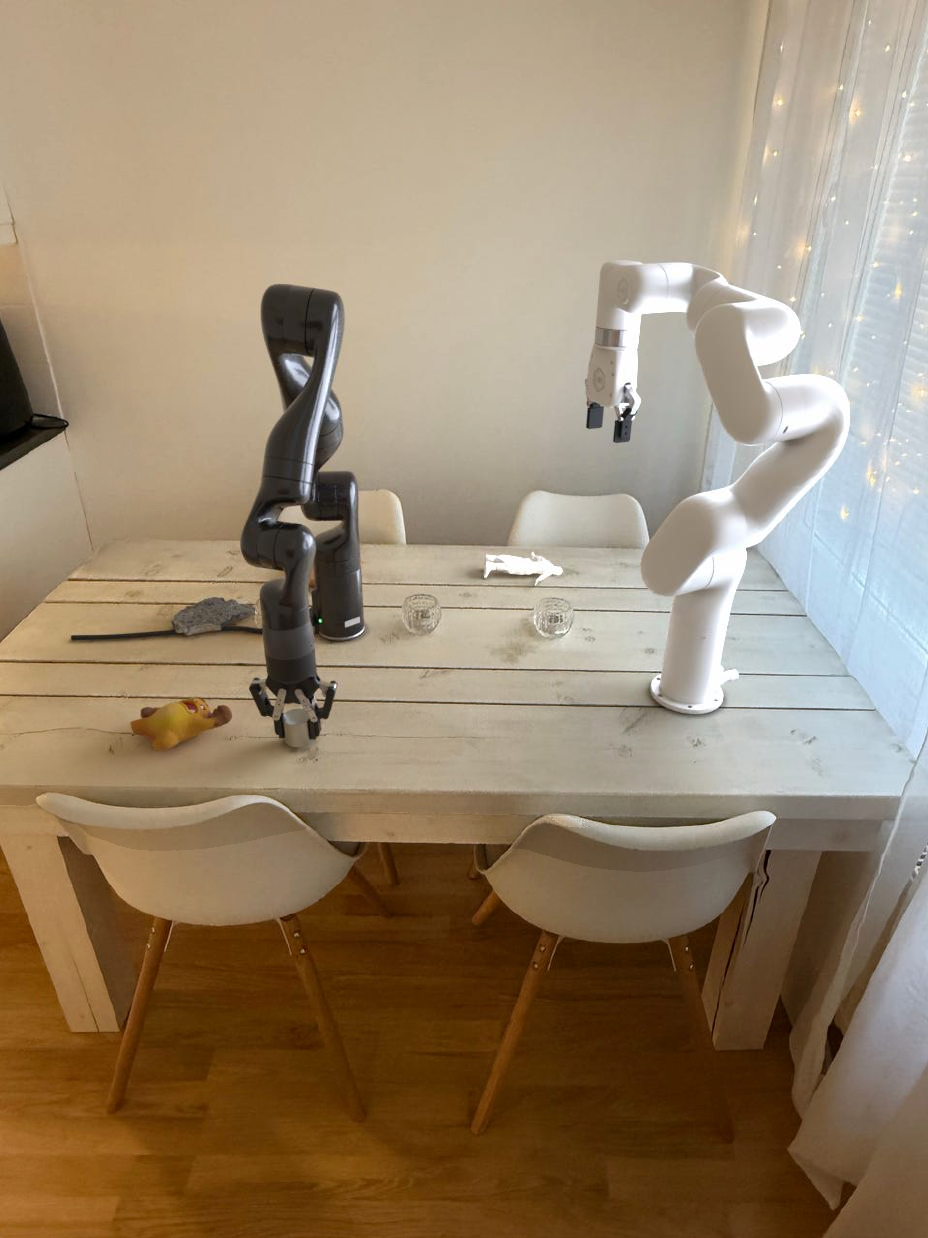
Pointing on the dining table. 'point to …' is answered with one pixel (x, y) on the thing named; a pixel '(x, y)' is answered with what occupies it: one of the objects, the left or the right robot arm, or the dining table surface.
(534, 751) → the dining table surface
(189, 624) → the stone slab
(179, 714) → the toy
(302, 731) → the can
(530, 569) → the figurine
